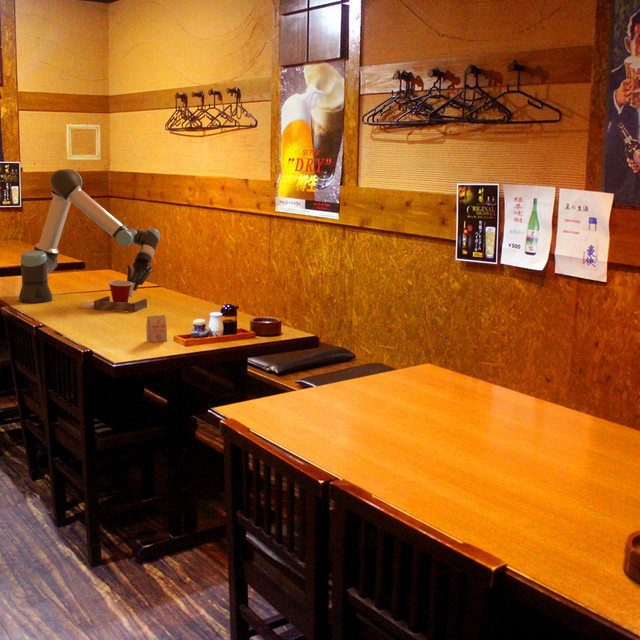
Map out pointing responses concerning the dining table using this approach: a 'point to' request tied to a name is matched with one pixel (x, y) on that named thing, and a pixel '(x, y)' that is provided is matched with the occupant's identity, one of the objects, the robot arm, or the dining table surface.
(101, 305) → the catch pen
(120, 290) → the plastic cup
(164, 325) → the printed paper bag
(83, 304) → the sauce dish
